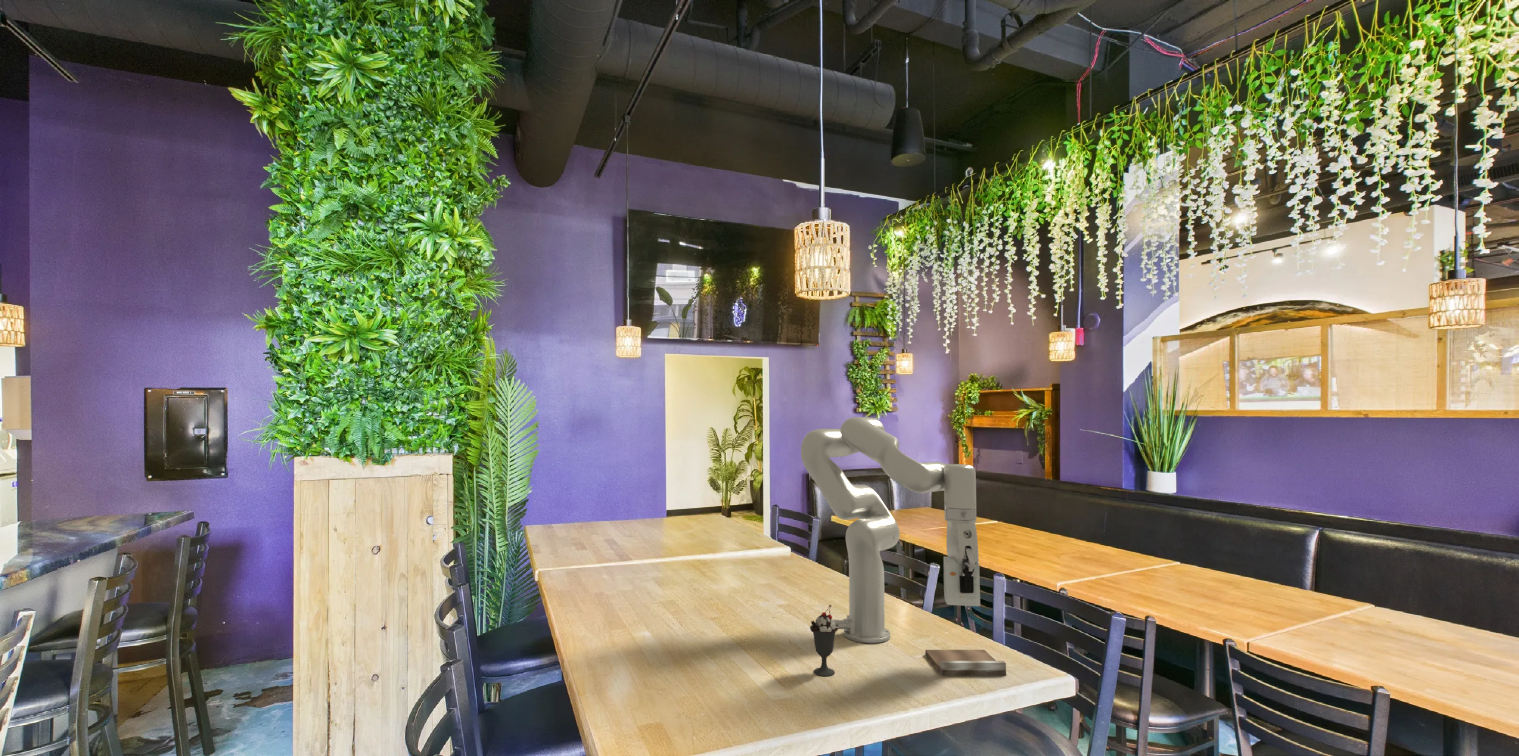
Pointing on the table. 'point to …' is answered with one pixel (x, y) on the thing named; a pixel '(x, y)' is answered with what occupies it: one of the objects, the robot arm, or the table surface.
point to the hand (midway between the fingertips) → (961, 588)
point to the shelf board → (965, 662)
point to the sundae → (824, 641)
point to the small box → (953, 585)
